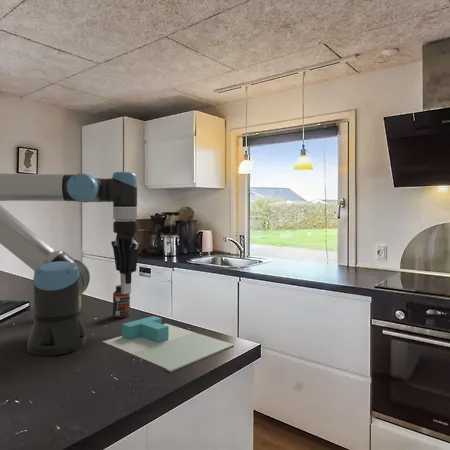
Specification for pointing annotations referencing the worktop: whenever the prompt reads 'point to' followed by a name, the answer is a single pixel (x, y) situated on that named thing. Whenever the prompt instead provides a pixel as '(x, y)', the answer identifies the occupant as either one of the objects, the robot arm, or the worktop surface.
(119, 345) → the board
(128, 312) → the supplement bottle
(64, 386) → the worktop surface
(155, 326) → the t block
